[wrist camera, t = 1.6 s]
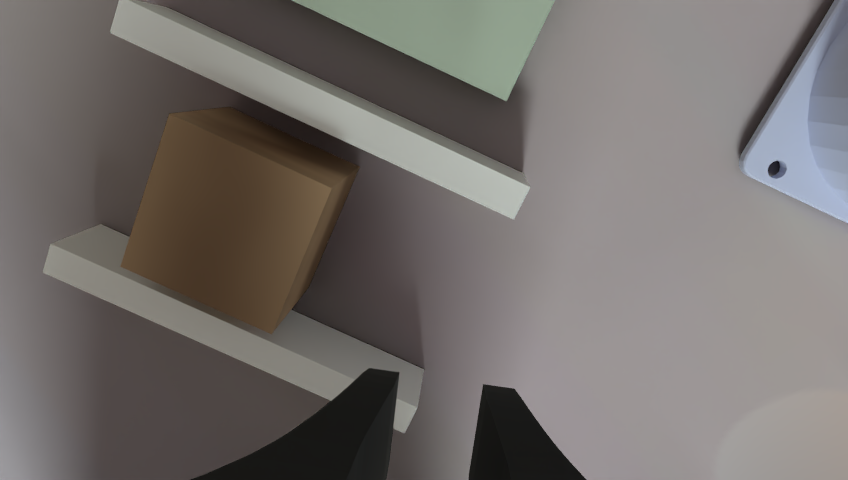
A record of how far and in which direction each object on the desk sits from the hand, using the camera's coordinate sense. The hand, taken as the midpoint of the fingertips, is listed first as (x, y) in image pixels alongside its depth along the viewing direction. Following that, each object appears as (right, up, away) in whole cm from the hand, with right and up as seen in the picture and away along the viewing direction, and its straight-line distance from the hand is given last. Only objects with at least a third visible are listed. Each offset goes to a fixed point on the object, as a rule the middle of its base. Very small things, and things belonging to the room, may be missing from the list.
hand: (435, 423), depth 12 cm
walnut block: (-5, +5, +8) cm, 11 cm away
